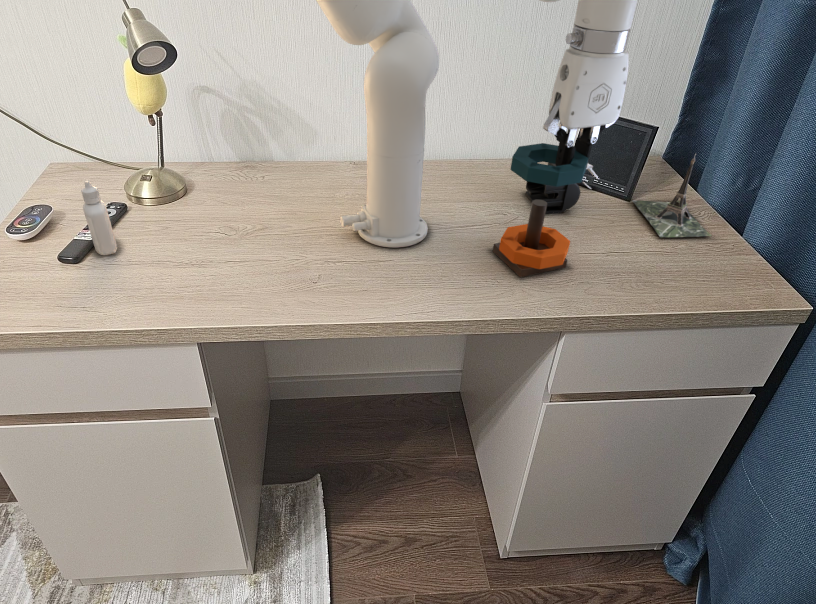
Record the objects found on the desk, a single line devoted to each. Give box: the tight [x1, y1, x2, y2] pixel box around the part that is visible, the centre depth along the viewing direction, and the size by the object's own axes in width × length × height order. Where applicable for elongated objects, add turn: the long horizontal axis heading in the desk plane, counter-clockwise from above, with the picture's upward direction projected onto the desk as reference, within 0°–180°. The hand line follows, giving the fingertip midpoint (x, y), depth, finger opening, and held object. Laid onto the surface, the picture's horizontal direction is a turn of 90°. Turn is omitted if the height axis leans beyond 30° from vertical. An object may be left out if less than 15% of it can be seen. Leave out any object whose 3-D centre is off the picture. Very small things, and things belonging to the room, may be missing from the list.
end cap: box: [524, 163, 581, 215], centre depth 120 cm, size 10×7×7 cm
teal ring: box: [510, 142, 589, 187], centre depth 94 cm, size 11×11×2 cm
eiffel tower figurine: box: [631, 153, 713, 238], centre depth 114 cm, size 15×10×13 cm
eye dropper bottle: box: [81, 180, 118, 256], centre depth 100 cm, size 4×6×12 cm
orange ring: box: [499, 223, 571, 269], centre depth 103 cm, size 11×11×2 cm
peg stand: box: [492, 200, 568, 278], centre depth 101 cm, size 9×9×10 cm
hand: (570, 166), depth 96 cm, fingers closed on teal ring, 2 cm apart
